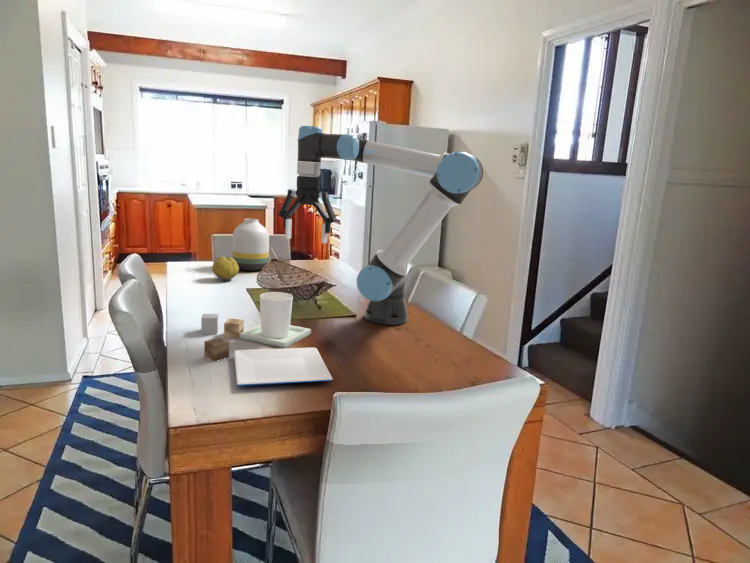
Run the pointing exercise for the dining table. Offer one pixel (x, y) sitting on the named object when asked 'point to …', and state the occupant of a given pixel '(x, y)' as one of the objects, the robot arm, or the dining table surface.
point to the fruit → (225, 268)
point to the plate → (279, 366)
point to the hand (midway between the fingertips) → (306, 240)
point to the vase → (250, 245)
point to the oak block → (233, 328)
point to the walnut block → (216, 349)
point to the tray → (293, 337)
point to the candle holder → (275, 314)
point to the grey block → (209, 324)
